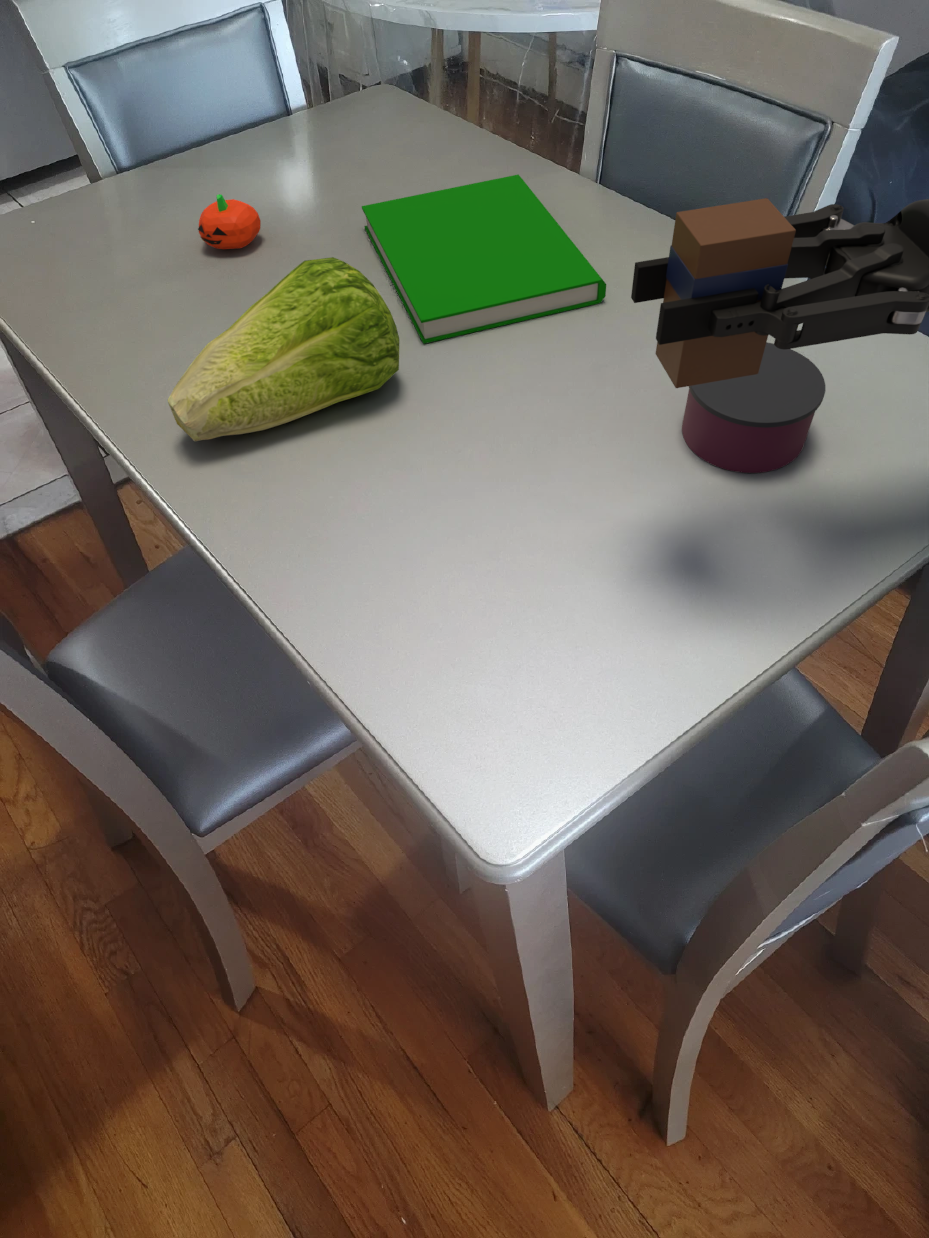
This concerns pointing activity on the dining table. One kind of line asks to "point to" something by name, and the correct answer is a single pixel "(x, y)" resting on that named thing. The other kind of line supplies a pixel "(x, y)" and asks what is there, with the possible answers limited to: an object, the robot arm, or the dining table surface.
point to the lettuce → (290, 354)
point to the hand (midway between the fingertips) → (647, 303)
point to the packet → (723, 282)
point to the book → (479, 258)
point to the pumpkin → (228, 224)
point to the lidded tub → (755, 414)
